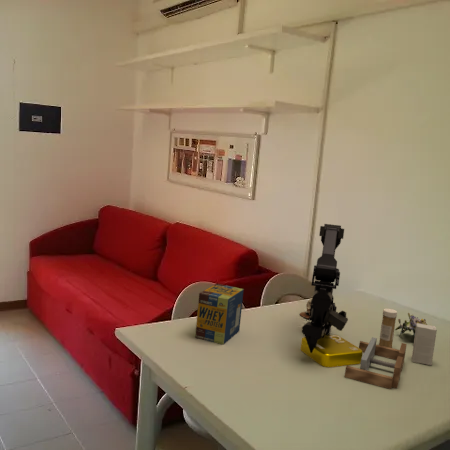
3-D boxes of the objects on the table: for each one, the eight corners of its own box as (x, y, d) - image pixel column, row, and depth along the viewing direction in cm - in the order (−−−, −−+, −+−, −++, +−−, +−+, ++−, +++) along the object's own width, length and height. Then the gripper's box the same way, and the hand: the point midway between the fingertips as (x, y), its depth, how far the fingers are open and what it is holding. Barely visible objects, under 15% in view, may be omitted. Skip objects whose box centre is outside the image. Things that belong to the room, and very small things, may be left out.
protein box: (194, 338, 164) (198, 292, 161) (213, 324, 178) (216, 283, 176) (223, 345, 160) (228, 299, 158) (240, 331, 174) (244, 288, 172)
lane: (344, 376, 144) (347, 357, 143) (359, 349, 167) (361, 332, 166) (396, 390, 138) (399, 370, 138) (404, 360, 161) (407, 342, 160)
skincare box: (430, 361, 162) (436, 326, 161) (431, 366, 158) (437, 330, 157) (411, 357, 164) (416, 322, 162) (411, 361, 160) (416, 326, 158)
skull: (336, 320, 192) (322, 300, 191) (315, 336, 193) (300, 316, 191) (328, 309, 204) (314, 290, 202) (308, 324, 205) (294, 305, 203)
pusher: (358, 377, 144) (361, 359, 144) (369, 353, 164) (372, 337, 163) (396, 386, 140) (399, 368, 139) (403, 361, 159) (405, 344, 159)
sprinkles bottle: (394, 349, 170) (400, 311, 168) (386, 351, 167) (391, 313, 166) (383, 344, 174) (389, 307, 172) (375, 346, 171) (380, 308, 169)
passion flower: (418, 356, 180) (426, 338, 171) (388, 344, 184) (394, 325, 176) (426, 333, 186) (434, 314, 178) (397, 322, 191) (404, 303, 182)
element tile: (297, 349, 163) (299, 335, 162) (335, 346, 169) (337, 332, 168) (324, 369, 149) (326, 354, 149) (364, 364, 156) (366, 350, 155)
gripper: (341, 314, 146) (334, 364, 148) (353, 300, 163) (347, 345, 165) (304, 306, 151) (298, 355, 153) (320, 293, 167) (314, 337, 170)
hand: (316, 348), depth 160 cm, fingers open, 9 cm apart
